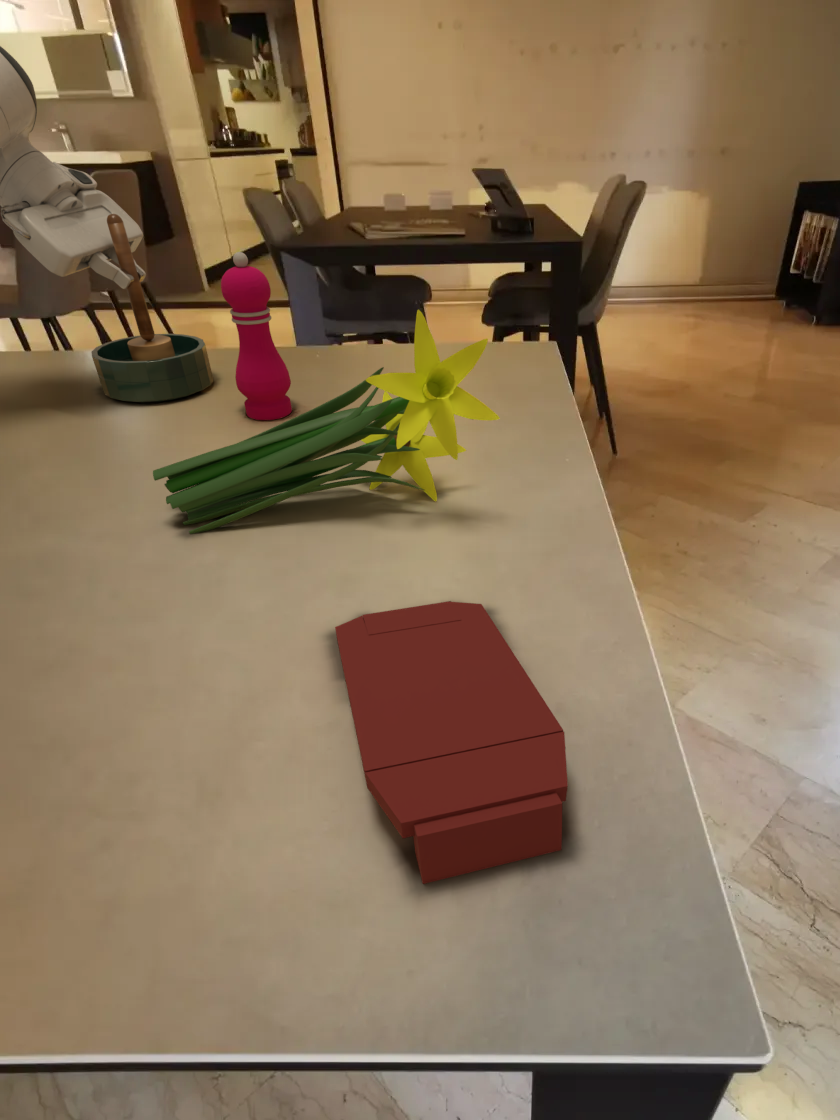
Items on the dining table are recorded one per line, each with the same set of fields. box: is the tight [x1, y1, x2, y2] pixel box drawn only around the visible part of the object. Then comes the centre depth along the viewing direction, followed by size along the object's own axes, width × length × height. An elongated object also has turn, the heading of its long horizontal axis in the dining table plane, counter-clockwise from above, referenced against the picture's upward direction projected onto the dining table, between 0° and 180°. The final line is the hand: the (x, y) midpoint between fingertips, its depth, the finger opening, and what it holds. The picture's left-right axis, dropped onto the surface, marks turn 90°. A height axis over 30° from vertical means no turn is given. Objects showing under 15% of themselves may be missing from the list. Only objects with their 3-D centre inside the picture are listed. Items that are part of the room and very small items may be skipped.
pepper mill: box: [220, 251, 293, 421], centre depth 92 cm, size 7×7×20 cm
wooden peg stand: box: [107, 214, 175, 361], centre depth 99 cm, size 6×6×18 cm
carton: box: [334, 600, 569, 885], centre depth 49 cm, size 12×5×25 cm
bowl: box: [91, 333, 214, 403], centre depth 105 cm, size 16×16×6 cm
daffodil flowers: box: [152, 309, 501, 535], centre depth 71 cm, size 17×15×35 cm
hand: (136, 282), depth 98 cm, fingers closed on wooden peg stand
